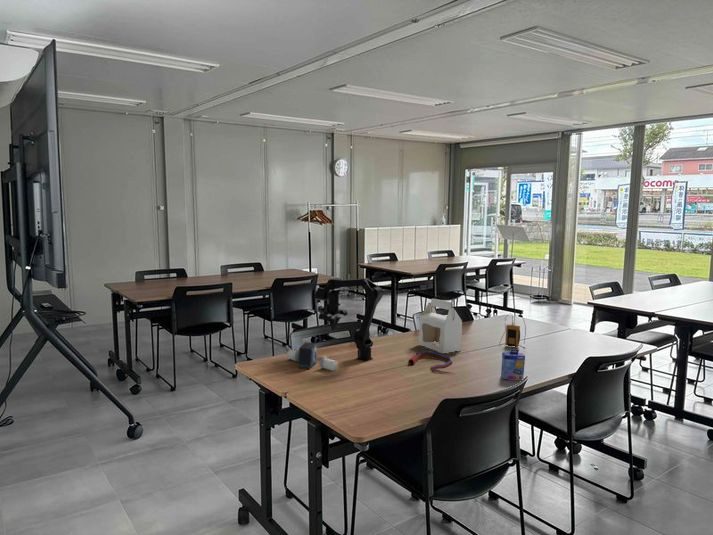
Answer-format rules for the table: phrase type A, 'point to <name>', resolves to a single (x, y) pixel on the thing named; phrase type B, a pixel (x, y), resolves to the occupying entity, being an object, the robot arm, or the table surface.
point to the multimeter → (513, 334)
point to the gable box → (440, 327)
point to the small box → (307, 355)
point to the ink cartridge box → (512, 365)
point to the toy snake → (434, 355)
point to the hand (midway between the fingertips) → (333, 330)
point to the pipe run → (324, 363)
